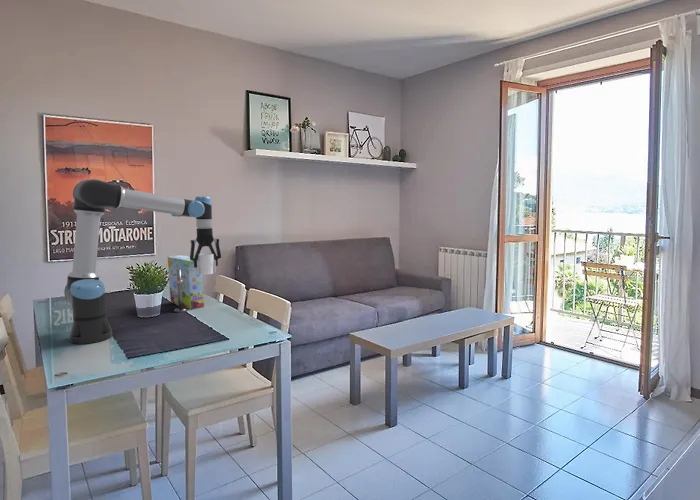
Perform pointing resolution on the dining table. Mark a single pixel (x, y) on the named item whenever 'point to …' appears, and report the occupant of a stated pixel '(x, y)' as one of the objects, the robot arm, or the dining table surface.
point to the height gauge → (179, 293)
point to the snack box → (185, 282)
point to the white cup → (206, 263)
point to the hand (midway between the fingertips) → (206, 273)
